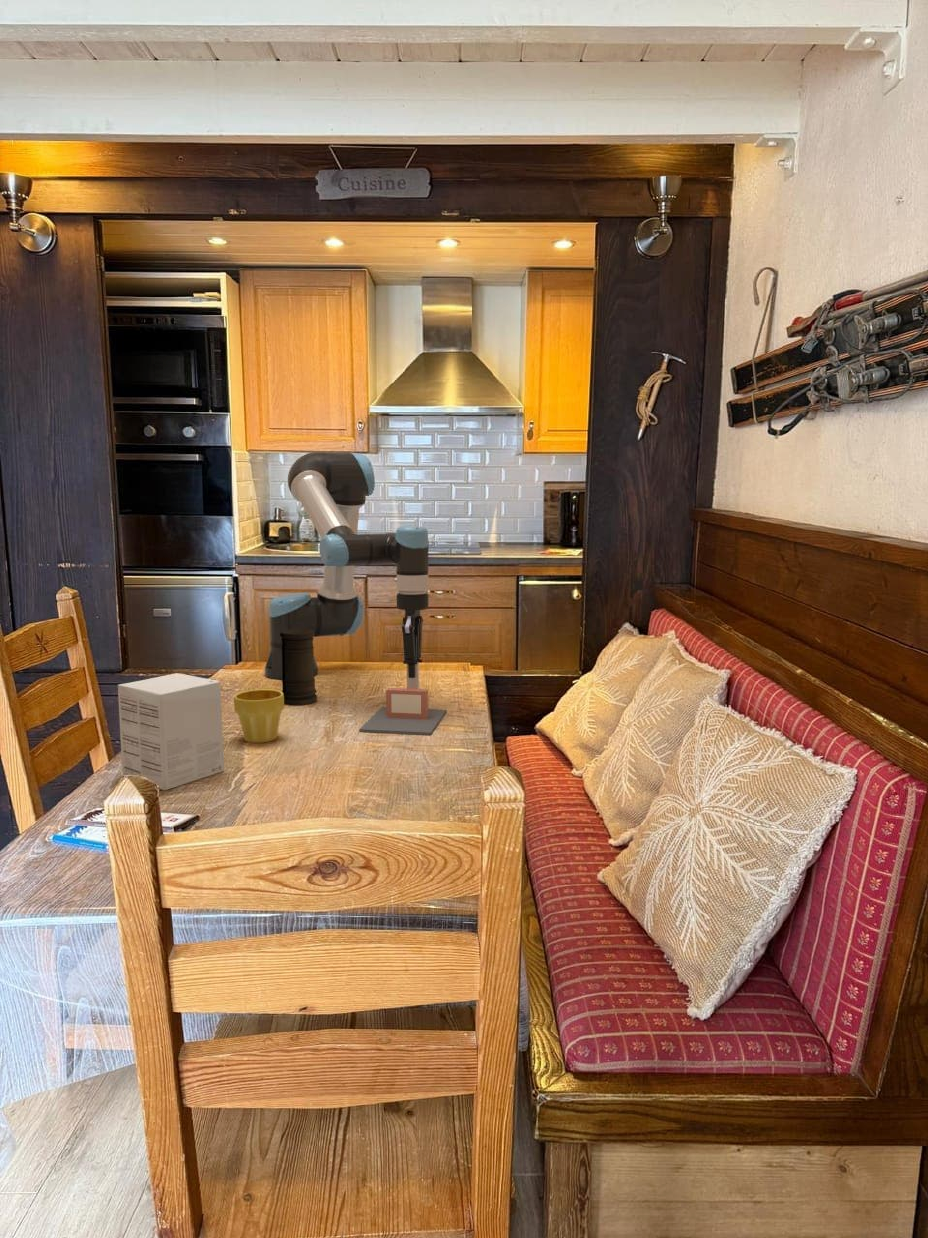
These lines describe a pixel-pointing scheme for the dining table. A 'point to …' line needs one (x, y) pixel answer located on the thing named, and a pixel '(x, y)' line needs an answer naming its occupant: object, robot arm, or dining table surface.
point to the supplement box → (171, 729)
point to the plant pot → (259, 713)
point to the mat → (403, 723)
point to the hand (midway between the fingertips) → (412, 690)
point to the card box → (407, 703)
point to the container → (298, 667)
